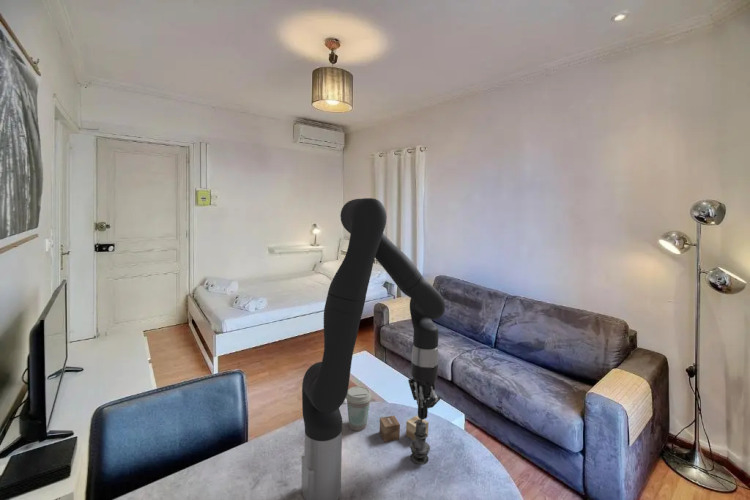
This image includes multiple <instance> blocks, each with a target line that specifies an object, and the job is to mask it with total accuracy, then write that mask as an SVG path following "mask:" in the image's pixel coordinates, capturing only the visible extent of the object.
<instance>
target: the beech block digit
mask: <svg viewBox="0 0 750 500" xmlns="http://www.w3.org/2000/svg"><path fill="white" fill-rule="evenodd" d="M420 420H421V419H420V418H419V417H418V414H417V415H414V416H413V417H411V418H409V419H408V420H406V426H405V429H406V430H405V436H407V438H409V439H410V440H412V441H415V435H414V433H415V432H416V424H417V422H419V421H420ZM422 422H424V423H425V424H426V434H427V437H426V438H428V437H429V423H430V422H429V421H427V420H426V419H423V420H422Z"/></svg>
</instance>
